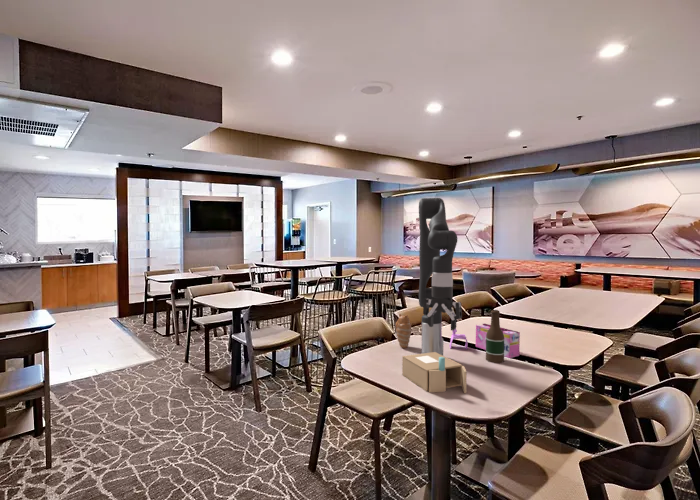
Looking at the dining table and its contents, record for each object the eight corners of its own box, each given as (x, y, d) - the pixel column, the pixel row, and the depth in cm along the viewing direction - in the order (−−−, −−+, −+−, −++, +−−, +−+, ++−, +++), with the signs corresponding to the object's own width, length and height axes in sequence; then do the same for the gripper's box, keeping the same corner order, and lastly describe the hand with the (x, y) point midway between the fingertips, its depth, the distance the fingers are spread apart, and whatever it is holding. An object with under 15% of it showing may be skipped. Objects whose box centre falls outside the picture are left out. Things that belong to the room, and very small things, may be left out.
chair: (468, 352, 185) (468, 322, 185) (449, 351, 187) (450, 322, 186) (465, 348, 193) (466, 319, 193) (448, 347, 195) (448, 318, 195)
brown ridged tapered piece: (392, 348, 193) (392, 313, 192) (402, 345, 198) (402, 312, 197) (405, 352, 186) (405, 316, 186) (415, 349, 191) (415, 314, 191)
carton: (434, 370, 160) (435, 351, 160) (461, 385, 143) (462, 364, 143) (402, 375, 154) (402, 355, 154) (426, 391, 137) (426, 369, 137)
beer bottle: (485, 363, 168) (486, 311, 168) (486, 358, 176) (486, 308, 175) (504, 365, 166) (504, 312, 165) (503, 360, 173) (504, 309, 172)
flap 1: (430, 393, 136) (430, 359, 135) (428, 390, 138) (428, 357, 138) (446, 392, 137) (446, 358, 136) (443, 389, 139) (444, 356, 139)
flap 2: (461, 386, 142) (461, 365, 142) (463, 386, 142) (463, 365, 142) (464, 393, 136) (464, 371, 136) (466, 393, 136) (466, 371, 136)
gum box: (473, 348, 193) (473, 324, 192) (483, 346, 196) (483, 322, 196) (509, 360, 173) (509, 333, 173) (520, 358, 176) (520, 332, 176)
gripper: (420, 284, 138) (419, 327, 138) (456, 287, 129) (456, 333, 130) (429, 282, 144) (428, 324, 144) (464, 285, 135) (464, 329, 135)
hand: (441, 328), depth 137 cm, fingers open, 8 cm apart
